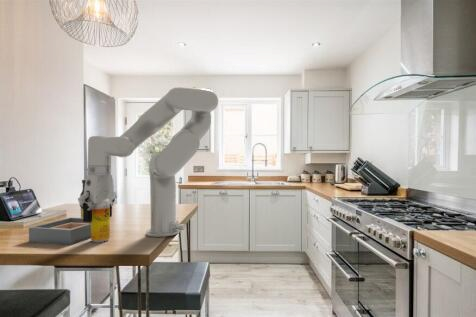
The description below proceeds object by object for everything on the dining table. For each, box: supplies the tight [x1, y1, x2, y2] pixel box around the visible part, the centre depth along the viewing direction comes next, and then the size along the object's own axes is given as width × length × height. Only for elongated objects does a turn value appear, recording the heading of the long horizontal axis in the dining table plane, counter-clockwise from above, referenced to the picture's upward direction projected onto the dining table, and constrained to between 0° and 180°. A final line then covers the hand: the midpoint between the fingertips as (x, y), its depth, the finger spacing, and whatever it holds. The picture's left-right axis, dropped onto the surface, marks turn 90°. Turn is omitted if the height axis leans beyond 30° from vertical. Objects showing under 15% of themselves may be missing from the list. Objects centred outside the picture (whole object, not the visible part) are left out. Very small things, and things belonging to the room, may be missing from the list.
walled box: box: [28, 217, 91, 246], centre depth 107 cm, size 18×18×5 cm
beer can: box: [90, 198, 111, 243], centre depth 102 cm, size 6×6×15 cm
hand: (98, 219), depth 101 cm, fingers open, 9 cm apart
